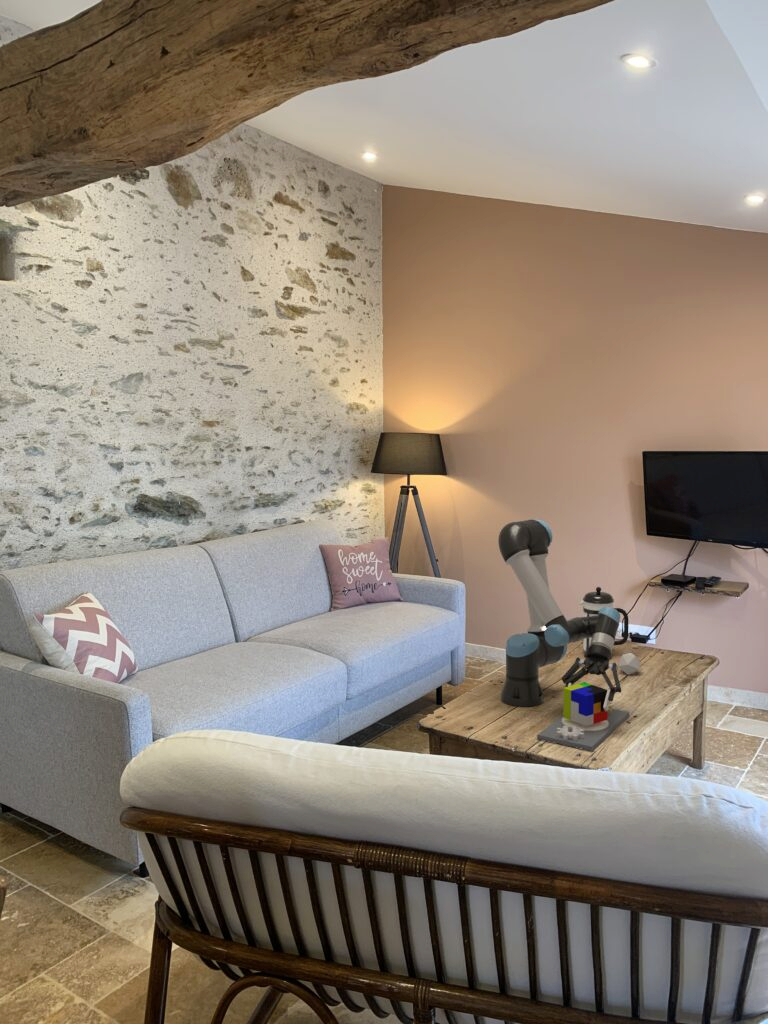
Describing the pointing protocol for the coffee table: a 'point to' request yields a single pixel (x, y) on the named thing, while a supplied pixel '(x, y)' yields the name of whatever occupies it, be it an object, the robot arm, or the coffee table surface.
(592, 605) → the coffee press
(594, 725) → the gear board
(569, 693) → the puzzle toy
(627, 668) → the die
